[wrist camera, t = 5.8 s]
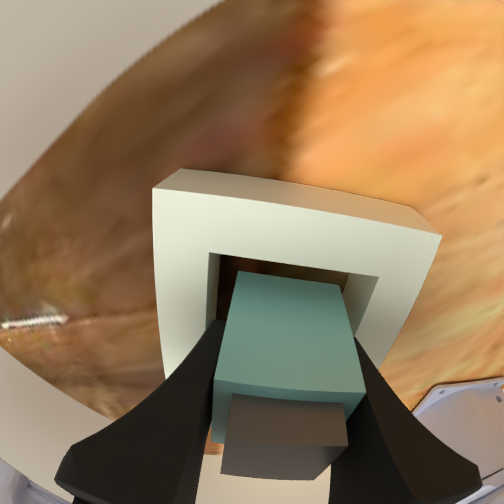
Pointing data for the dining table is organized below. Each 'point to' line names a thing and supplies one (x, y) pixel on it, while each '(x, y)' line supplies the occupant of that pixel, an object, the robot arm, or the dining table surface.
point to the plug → (284, 378)
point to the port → (283, 251)
